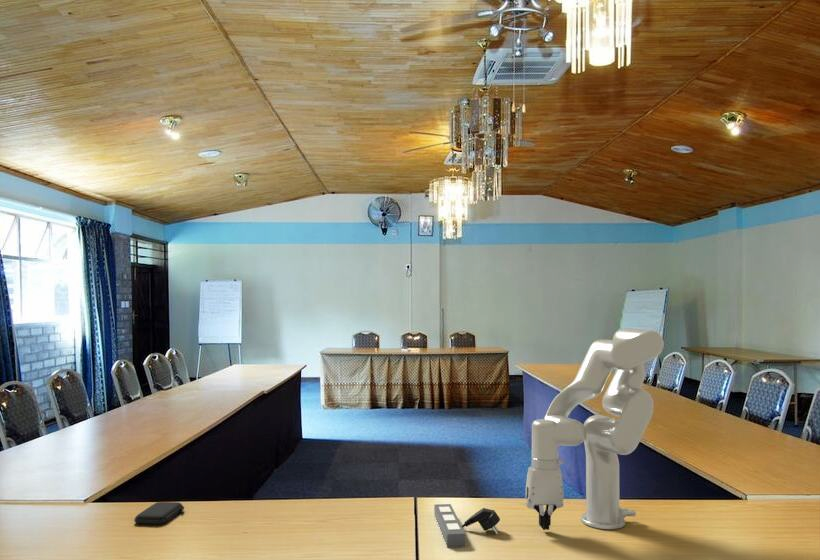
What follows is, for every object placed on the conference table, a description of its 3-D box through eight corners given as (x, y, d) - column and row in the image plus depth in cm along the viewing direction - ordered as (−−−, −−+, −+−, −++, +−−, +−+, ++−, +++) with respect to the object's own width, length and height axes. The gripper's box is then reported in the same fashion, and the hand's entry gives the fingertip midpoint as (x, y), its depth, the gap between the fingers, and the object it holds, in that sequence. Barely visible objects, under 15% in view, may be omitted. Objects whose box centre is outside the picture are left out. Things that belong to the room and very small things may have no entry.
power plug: (457, 523, 181) (490, 501, 180) (472, 545, 180) (506, 524, 179) (455, 530, 176) (489, 508, 174) (470, 553, 175) (505, 531, 173)
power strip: (450, 515, 190) (450, 503, 190) (465, 546, 166) (465, 532, 166) (434, 516, 189) (434, 503, 189) (447, 547, 166) (447, 533, 166)
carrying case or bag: (166, 527, 180) (188, 510, 195) (166, 517, 180) (189, 501, 195) (131, 526, 181) (156, 509, 196) (131, 516, 181) (156, 499, 196)
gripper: (565, 459, 182) (565, 522, 181) (515, 460, 180) (515, 524, 179) (574, 466, 174) (574, 532, 174) (523, 467, 173) (523, 533, 172)
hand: (544, 528), depth 176 cm, fingers closed
